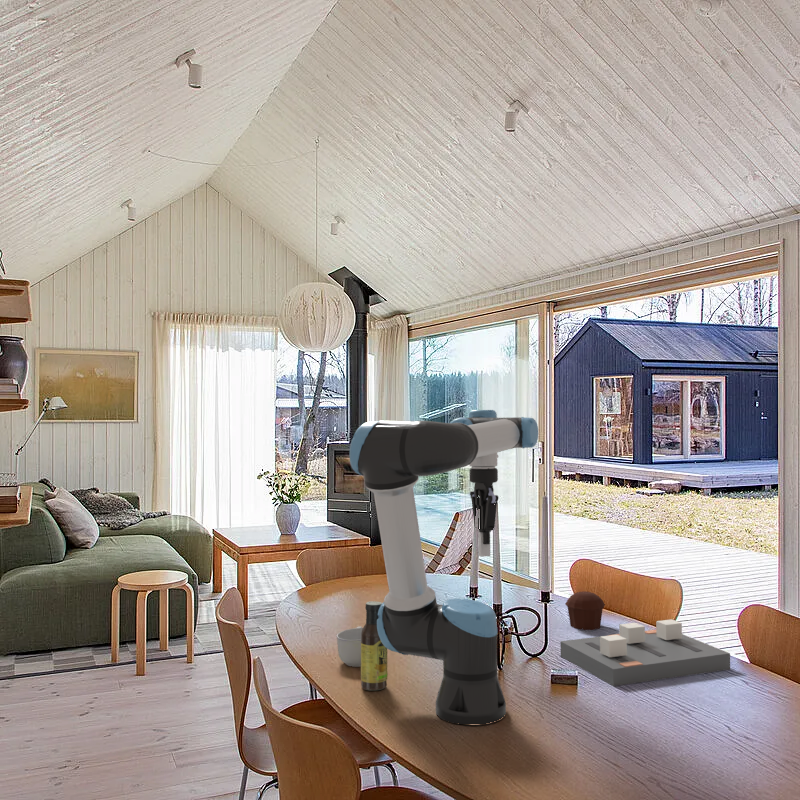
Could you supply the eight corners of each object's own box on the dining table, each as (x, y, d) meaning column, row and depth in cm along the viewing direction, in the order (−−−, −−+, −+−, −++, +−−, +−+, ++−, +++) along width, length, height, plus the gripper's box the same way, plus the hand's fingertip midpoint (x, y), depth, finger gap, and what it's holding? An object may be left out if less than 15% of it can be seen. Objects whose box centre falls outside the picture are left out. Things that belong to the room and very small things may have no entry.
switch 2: (681, 638, 208) (681, 623, 208) (666, 640, 207) (665, 624, 207) (672, 634, 212) (671, 619, 212) (656, 636, 210) (656, 621, 210)
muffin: (592, 619, 244) (592, 587, 244) (612, 628, 233) (612, 595, 234) (558, 623, 240) (558, 590, 240) (577, 632, 230) (577, 598, 230)
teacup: (373, 671, 198) (372, 639, 198) (331, 669, 200) (331, 637, 200) (385, 654, 211) (385, 624, 211) (346, 652, 213) (346, 622, 214)
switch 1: (626, 655, 194) (626, 638, 195) (609, 657, 193) (609, 641, 193) (617, 650, 198) (617, 634, 198) (600, 652, 197) (599, 636, 197)
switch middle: (645, 641, 205) (644, 626, 205) (628, 643, 204) (628, 628, 204) (635, 637, 209) (635, 622, 209) (619, 639, 208) (619, 624, 208)
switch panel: (730, 669, 196) (730, 652, 196) (613, 686, 185) (613, 668, 185) (668, 642, 219) (667, 627, 219) (560, 656, 208) (560, 640, 208)
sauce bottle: (383, 693, 182) (383, 607, 182) (357, 691, 184) (357, 605, 184) (390, 683, 188) (389, 600, 189) (365, 682, 190) (364, 599, 190)
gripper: (507, 468, 205) (508, 559, 205) (485, 465, 218) (486, 550, 217) (480, 469, 203) (482, 561, 203) (460, 466, 215) (461, 552, 215)
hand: (484, 555), depth 210 cm, fingers closed
